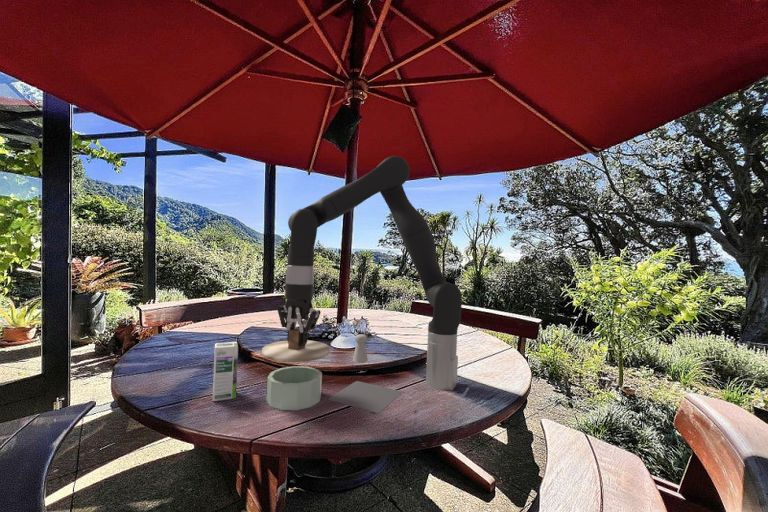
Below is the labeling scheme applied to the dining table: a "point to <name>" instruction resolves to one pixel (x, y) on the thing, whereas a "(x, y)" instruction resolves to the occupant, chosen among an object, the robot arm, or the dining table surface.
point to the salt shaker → (360, 349)
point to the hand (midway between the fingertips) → (296, 344)
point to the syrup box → (225, 371)
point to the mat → (366, 396)
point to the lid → (295, 349)
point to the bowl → (294, 387)
